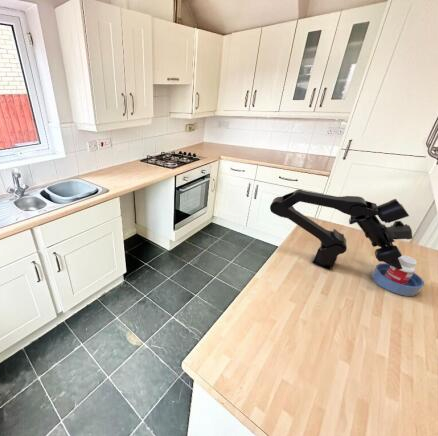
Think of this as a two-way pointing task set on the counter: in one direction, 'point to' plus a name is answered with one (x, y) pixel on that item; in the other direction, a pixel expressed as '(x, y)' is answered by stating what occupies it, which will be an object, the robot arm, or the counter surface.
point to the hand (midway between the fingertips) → (397, 261)
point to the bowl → (408, 290)
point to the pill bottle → (402, 270)
